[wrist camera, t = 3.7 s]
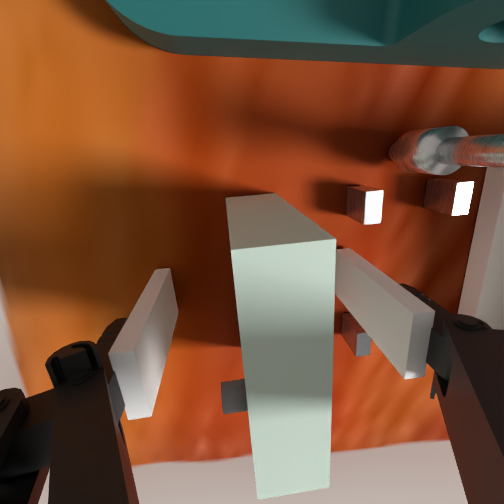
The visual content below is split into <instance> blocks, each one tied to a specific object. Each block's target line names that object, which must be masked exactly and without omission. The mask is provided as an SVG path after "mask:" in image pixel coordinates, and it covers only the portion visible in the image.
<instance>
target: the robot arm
mask: <svg viewBox="0 0 504 504" xmlns="http://www.w3.org/2000/svg"><path fill="white" fill-rule="evenodd" d="M335 294H336V296H337V297H338V298H339V299H340V300H341V302H342V303H343V304H344V305H345V307H346V308H347V309H348V310H349V312H350V313H351V314H352V315H353V316H354V318H355V319H356V320H357V321H358V323H359V324H360V325H361V326H362V328H363V329H364V330H365V331H366V333H367V334H368V335H369V336H370V337H371V339H372V340H373V341H374V342H375V344H376V345H377V346H378V347H379V349H380V350H381V351H382V352H383V353H384V355H385V356H386V357H387V358H388V360H389V361H390V362H391V363H392V365H393V366H394V367H395V368H396V370H397V371H398V372H399V373H400V374H401V376H402V377H403V378H404V379H411V378H418V377H424V376H425V370H426V364H427V363H428V364H429V365H430V366H431V367H432V368H433V369H434V370H435V371H434V377H433V382H432V388H431V394H430V398H431V399H434V396H435V394H436V393H437V396H438V400H439V403H440V407H441V410H442V414H443V417H444V421H445V424H446V428H447V431H448V435H449V438H450V442H451V445H452V449H453V452H454V456H455V459H456V463H457V466H458V470H459V473H460V477H461V480H462V483H463V487H464V491H465V494H466V498H467V501H468V504H504V330H499V329H492V328H491V327H490V326H489V325H488V324H487V323H486V322H484V321H482V320H480V319H478V318H475V317H472V316H469V315H463V314H451V313H450V312H448V311H447V310H445V309H444V308H443V307H441V306H440V305H438V304H437V303H435V302H434V301H433V300H430V298H428V297H427V296H425V295H423V294H422V293H421V292H420V291H418V290H417V289H415V288H413V287H411V286H408V285H406V284H398V283H396V282H395V281H394V280H392V279H391V278H390V277H388V276H387V275H386V274H384V273H383V272H382V271H380V270H379V269H377V268H376V267H375V266H373V265H372V264H371V263H369V262H368V261H367V260H365V259H364V258H363V257H361V256H360V255H358V254H357V253H356V252H354V251H353V250H352V249H350V248H346V249H337V250H336V282H335ZM178 314H179V312H178V307H177V302H176V296H175V291H174V286H173V281H172V275H171V270H170V268H164V269H155V271H154V273H153V275H152V276H151V278H150V280H149V282H148V283H147V285H146V287H145V289H144V291H143V292H142V294H141V296H140V298H139V299H138V301H137V303H136V305H135V306H134V308H133V310H132V312H131V314H130V315H129V317H128V318H121V319H116V320H115V321H114V322H112V323H111V324H110V325H109V326H107V328H106V329H105V331H104V332H103V334H102V336H101V337H100V338H99V340H98V341H97V343H96V344H95V343H94V342H91V341H79V342H75V343H71V344H69V345H67V346H65V347H62V348H61V349H59V350H57V351H56V352H54V353H53V354H52V355H51V356H50V357H49V358H48V359H47V361H46V363H45V366H46V369H47V371H48V373H49V376H50V378H51V381H52V383H53V386H54V388H53V389H51V390H48V391H45V392H42V393H39V394H37V395H34V396H31V397H28V398H25V396H24V393H23V392H22V390H21V389H18V388H10V389H4V390H1V391H0V504H38V502H39V499H40V496H41V493H42V490H43V486H44V484H45V481H46V478H47V475H48V472H49V469H50V478H49V498H48V504H139V500H138V496H137V491H136V486H135V482H134V478H133V473H132V468H131V464H130V459H129V455H128V450H127V445H126V441H125V436H124V432H123V427H122V424H121V421H120V418H121V416H122V413H123V410H124V408H125V411H126V414H127V417H128V420H132V419H138V418H145V417H151V416H152V412H153V408H154V405H155V401H156V397H157V393H158V389H159V386H160V382H161V378H162V374H163V370H164V367H165V363H166V359H167V355H168V352H169V348H170V344H171V340H172V336H173V333H174V329H175V325H176V321H177V317H178Z"/></svg>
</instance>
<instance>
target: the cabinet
mask: <svg viewBox="0 0 504 504" xmlns="http://www.w3.org/2000/svg"><path fill="white" fill-rule="evenodd" d="M458 314H463V315H469V316H472V317H475V318H478V319H480V320H482V321H484V322H486V323H487V324H488V325H489V326H490V327H491V328H492V329H499V330H504V168H495V167H487V170H486V175H485V180H484V185H483V190H482V195H481V200H480V205H479V210H478V215H477V220H476V225H475V230H474V235H473V239H472V244H471V249H470V254H469V259H468V264H467V269H466V274H465V279H464V284H463V289H462V294H461V299H460V304H459V309H458Z"/></svg>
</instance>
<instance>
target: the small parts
mask: <svg viewBox="0 0 504 504" xmlns="http://www.w3.org/2000/svg"><path fill="white" fill-rule="evenodd" d="M388 155H389V158H390V159H391V160H392V161H394V162H395V164H396V166H397V167H398V168H399V169H401V170H403V171H407V172H417V173H426V174H436V175H448V174H451V173H453V172H455V171H456V170H458V169H459V168H460V167H461V166H477V167H495V168H504V134H493V135H477V136H469V135H468V133H467V132H466V131H465V130H464V129H463V128H461V127H459V126H446V127H437V128H428V129H420V130H412V131H409V132H407V133H405V134H404V135H402V136H401V137H400V139H399V140H398V141H396V142H394V143H393V144H392V145H391V146H390V148H389V152H388ZM473 185H474V182H473V181H464V180H456V179H447V178H435V179H427V185H426V193H425V200H424V208H426V209H430V210H433V211H437V212H441V213H444V214H448V215H451V216H454V215H463V214H468V211H469V206H470V201H471V196H472V190H473ZM382 202H383V190H381V189H376V188H372V187H368V186H364V185H359V186H348V187H347V204H346V216H348V217H350V218H352V219H354V220H356V221H358V222H360V223H362V224H364V225H366V224H376V223H381V214H382ZM341 335H342V336H343V338H344V339H345V341H346V342H347V344H348V345H349V347H350V348H351V350H352V351H353V353H354V354H355V356H356V357H357V356H364V355H370V347H371V337H370V336H369V335H368V334H367V333H366V331H365V330H364V329H363V328H362V326H361V325H360V324H359V323H358V321H357V320H356V319H355V318H354V316H353V315H352V314H351V313H344V314H342V333H341Z"/></svg>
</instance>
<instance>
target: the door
mask: <svg viewBox="0 0 504 504" xmlns="http://www.w3.org/2000/svg"><path fill="white" fill-rule="evenodd" d="M226 207H227V218H228V228H229V238H230V248H231V258H232V267H233V276H234V285H235V295H236V304H237V313H238V322H239V332H240V341H241V350H242V359H243V369H244V378H245V379H240V380H233V381H226V382H221V396H222V408H223V413H224V414H229V413H235V412H242V411H248V415H249V424H250V433H251V443H252V452H253V461H254V469H255V480H256V489H257V497H258V500H259V499H265V498H270V497H276V496H282V495H288V494H294V493H300V492H305V491H311V490H317V489H323V488H329V483H330V448H331V411H332V375H333V338H334V302H335V265H336V238H334V237H333V236H332V235H330V234H329V233H328V232H326V231H325V230H324V229H322V228H321V227H320V226H318V225H317V224H316V223H314V222H313V221H312V220H310V219H309V218H308V217H306V216H305V215H304V214H302V213H301V212H300V211H298V210H297V209H296V208H295V207H293V206H292V205H291V204H289V203H288V202H287V201H285V200H284V199H283V198H281V197H280V196H279V195H277V194H276V193H271V194H260V195H249V196H238V197H227V198H226Z"/></svg>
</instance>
